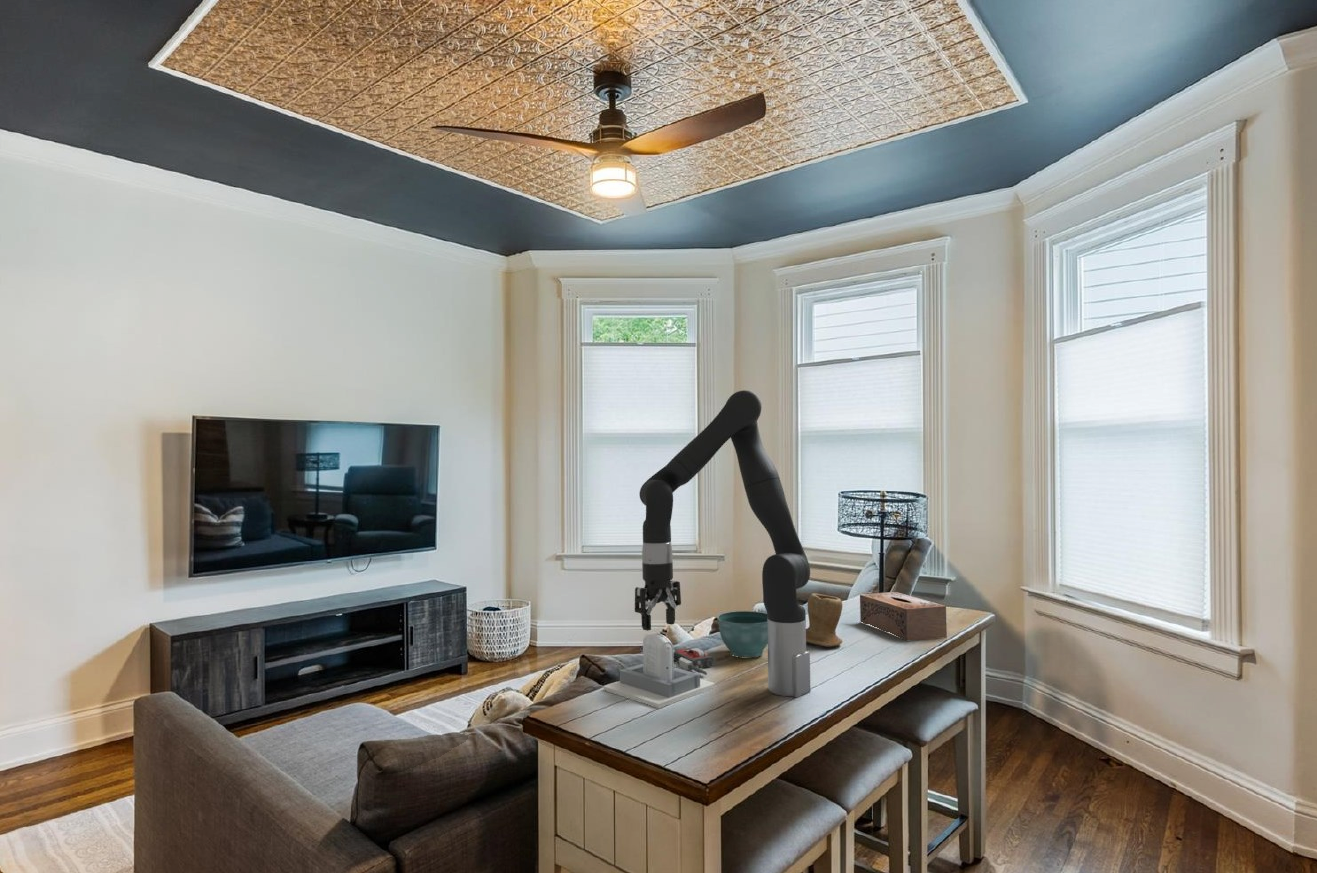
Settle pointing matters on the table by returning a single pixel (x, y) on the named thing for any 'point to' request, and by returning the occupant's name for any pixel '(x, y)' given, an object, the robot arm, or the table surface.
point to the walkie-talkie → (693, 659)
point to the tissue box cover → (904, 615)
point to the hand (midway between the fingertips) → (658, 626)
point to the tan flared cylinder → (823, 620)
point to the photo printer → (658, 656)
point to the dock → (652, 696)
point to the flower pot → (744, 632)
